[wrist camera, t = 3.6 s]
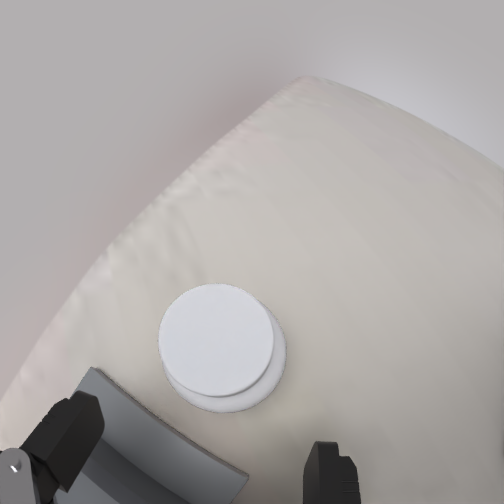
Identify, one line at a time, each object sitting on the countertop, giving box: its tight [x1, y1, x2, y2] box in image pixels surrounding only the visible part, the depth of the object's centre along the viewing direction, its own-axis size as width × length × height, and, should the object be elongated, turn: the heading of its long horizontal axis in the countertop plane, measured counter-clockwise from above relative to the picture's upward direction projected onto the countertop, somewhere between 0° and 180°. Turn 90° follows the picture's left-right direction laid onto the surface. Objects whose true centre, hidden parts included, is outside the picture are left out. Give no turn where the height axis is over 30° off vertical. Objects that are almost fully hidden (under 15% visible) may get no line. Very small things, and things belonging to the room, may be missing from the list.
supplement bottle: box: [158, 283, 286, 413], centre depth 15 cm, size 5×5×10 cm
